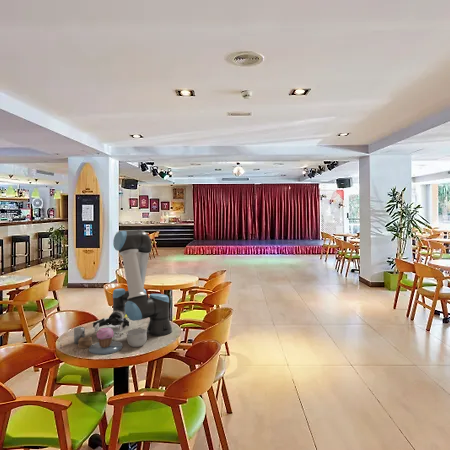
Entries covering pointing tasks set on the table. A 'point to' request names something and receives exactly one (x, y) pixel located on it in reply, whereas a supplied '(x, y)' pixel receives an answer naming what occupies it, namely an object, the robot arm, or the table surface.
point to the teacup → (136, 337)
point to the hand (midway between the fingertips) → (108, 328)
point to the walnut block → (85, 342)
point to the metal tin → (78, 334)
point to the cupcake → (105, 336)
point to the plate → (100, 350)
